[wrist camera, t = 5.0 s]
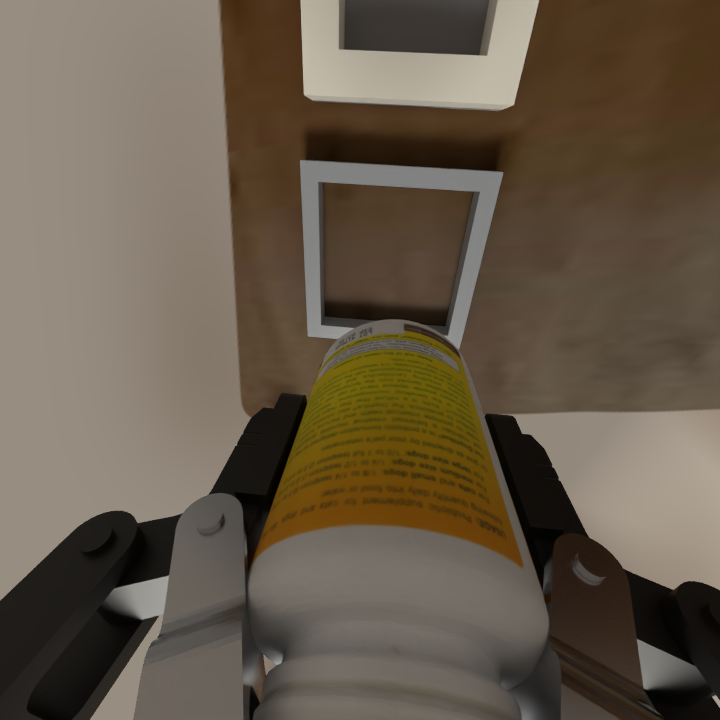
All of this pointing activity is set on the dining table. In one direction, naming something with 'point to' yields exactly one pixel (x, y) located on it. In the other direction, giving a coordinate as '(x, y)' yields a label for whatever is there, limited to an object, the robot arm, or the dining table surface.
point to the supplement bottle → (394, 546)
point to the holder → (416, 51)
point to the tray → (397, 176)
